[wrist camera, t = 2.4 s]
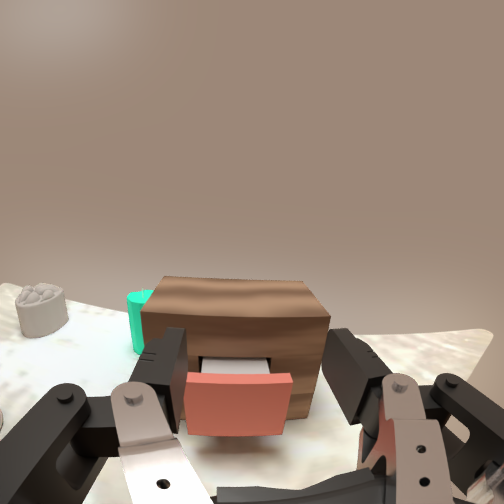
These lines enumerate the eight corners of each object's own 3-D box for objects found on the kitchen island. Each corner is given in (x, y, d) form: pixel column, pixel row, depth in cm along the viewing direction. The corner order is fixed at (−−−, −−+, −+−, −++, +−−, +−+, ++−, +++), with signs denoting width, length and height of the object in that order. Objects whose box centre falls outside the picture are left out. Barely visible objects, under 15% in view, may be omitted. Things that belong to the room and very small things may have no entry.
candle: (165, 339, 49) (161, 282, 46) (162, 357, 43) (156, 294, 41) (136, 338, 48) (130, 281, 45) (130, 354, 42) (121, 292, 40)
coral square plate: (282, 434, 24) (293, 382, 22) (188, 434, 23) (181, 381, 21) (269, 383, 33) (275, 333, 32) (194, 381, 32) (192, 331, 31)
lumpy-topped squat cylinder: (73, 317, 51) (68, 282, 49) (42, 343, 38) (32, 303, 37) (44, 310, 51) (38, 277, 49) (13, 332, 38) (3, 295, 36)
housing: (306, 417, 31) (330, 316, 28) (157, 416, 29) (139, 311, 26) (289, 369, 43) (302, 280, 39) (170, 366, 41) (164, 276, 37)
